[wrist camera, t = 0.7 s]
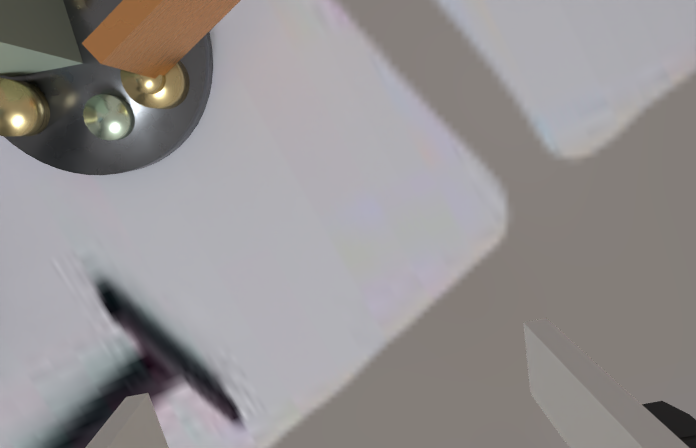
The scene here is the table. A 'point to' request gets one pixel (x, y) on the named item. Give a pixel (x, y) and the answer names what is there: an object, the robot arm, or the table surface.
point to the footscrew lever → (154, 45)
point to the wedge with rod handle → (35, 37)
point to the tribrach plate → (98, 108)
